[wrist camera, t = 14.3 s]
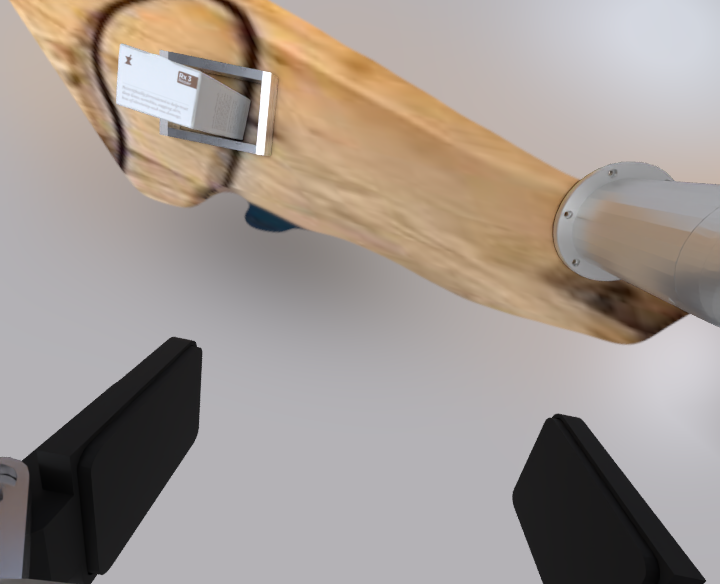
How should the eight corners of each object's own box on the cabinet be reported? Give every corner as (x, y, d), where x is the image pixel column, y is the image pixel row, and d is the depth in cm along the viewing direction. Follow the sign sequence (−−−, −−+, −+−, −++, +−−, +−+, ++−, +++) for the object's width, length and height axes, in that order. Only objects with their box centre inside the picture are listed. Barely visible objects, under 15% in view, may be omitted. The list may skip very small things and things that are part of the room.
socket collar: (278, 78, 37) (271, 72, 34) (270, 155, 39) (263, 155, 37) (174, 56, 36) (159, 49, 34) (173, 135, 39) (159, 134, 37)
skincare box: (189, 123, 38) (109, 107, 27) (196, 76, 37) (114, 39, 26) (246, 142, 39) (190, 134, 27) (255, 97, 37) (200, 69, 26)
